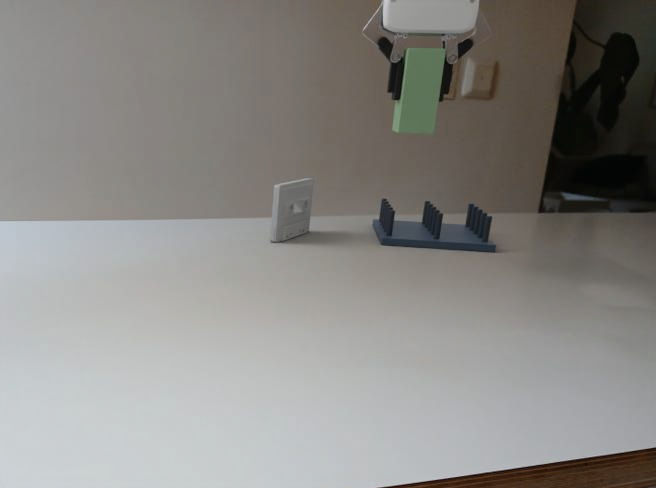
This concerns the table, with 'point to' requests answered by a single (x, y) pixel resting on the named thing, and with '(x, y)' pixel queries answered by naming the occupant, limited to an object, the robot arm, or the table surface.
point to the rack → (435, 230)
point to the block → (419, 91)
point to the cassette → (291, 209)
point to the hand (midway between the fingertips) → (416, 99)
